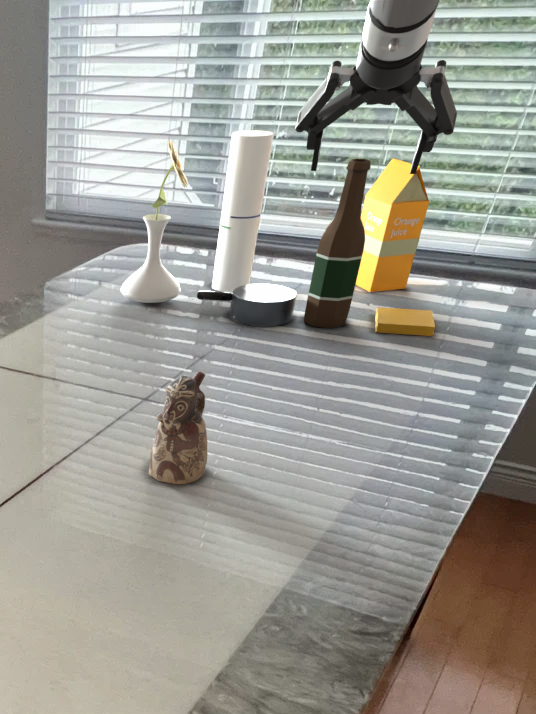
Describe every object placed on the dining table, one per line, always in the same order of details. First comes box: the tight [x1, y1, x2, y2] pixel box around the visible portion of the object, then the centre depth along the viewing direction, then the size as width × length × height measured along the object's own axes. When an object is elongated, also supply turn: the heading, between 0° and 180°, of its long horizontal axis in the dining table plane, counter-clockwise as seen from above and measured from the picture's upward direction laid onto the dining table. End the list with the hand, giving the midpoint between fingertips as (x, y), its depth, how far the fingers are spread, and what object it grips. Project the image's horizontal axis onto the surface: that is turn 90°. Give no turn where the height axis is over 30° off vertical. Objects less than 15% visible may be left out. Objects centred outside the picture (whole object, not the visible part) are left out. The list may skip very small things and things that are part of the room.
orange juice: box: [355, 158, 430, 293], centre depth 157 cm, size 8×9×20 cm
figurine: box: [148, 370, 208, 485], centre depth 103 cm, size 7×7×12 cm
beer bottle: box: [303, 158, 372, 329], centre depth 140 cm, size 8×8×24 cm
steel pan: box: [196, 283, 298, 328], centre depth 150 cm, size 17×11×4 cm, turn 72°
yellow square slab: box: [374, 306, 436, 337], centre depth 145 cm, size 9×9×2 cm
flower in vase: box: [119, 139, 189, 304], centre depth 153 cm, size 13×11×25 cm
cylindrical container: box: [211, 129, 275, 293], centre depth 156 cm, size 7×7×25 cm
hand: (364, 163), depth 122 cm, fingers open, 13 cm apart
